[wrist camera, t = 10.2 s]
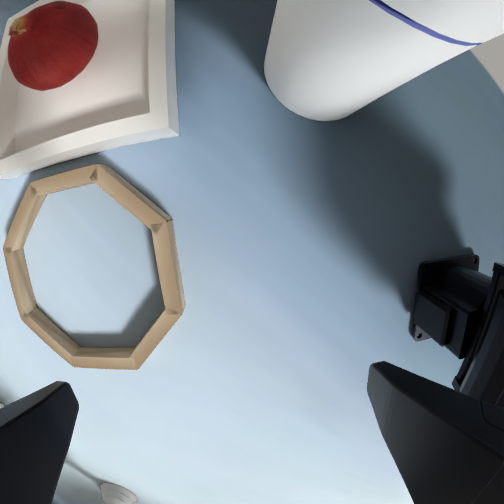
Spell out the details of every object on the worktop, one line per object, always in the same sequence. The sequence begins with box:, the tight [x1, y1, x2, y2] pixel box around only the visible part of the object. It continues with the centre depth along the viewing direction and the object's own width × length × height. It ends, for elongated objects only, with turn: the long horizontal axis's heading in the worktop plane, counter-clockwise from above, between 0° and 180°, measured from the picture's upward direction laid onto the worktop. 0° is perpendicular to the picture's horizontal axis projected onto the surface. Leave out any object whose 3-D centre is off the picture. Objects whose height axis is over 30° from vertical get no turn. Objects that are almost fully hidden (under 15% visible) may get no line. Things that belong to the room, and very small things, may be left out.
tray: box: [0, 0, 180, 179], centre depth 14 cm, size 14×14×3 cm
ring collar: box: [3, 164, 186, 370], centre depth 18 cm, size 14×14×2 cm
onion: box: [8, 1, 99, 91], centre depth 11 cm, size 6×6×8 cm
